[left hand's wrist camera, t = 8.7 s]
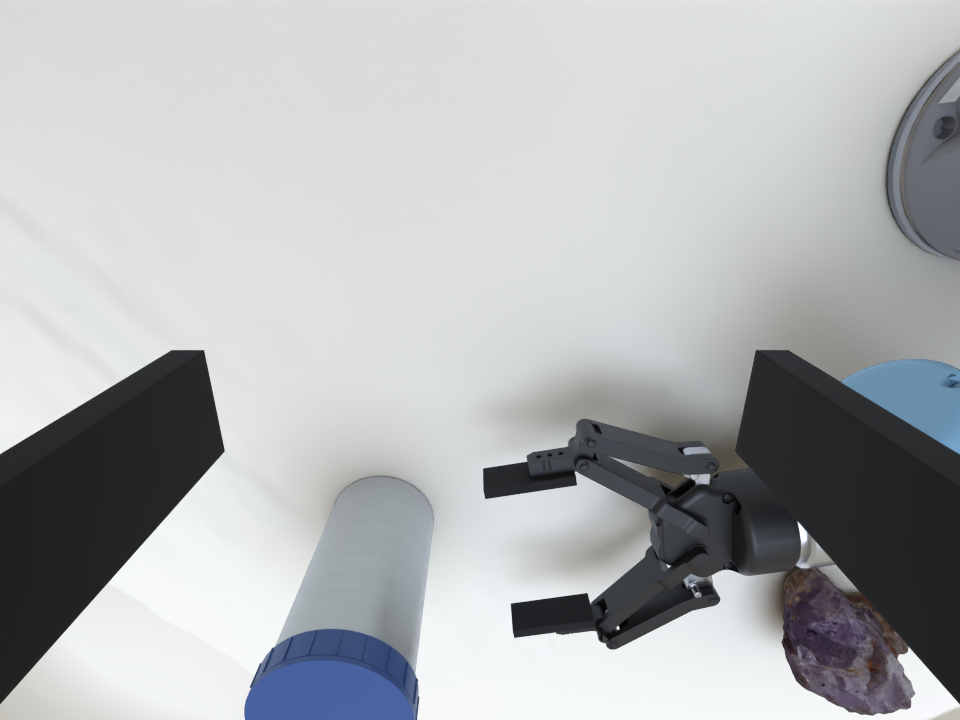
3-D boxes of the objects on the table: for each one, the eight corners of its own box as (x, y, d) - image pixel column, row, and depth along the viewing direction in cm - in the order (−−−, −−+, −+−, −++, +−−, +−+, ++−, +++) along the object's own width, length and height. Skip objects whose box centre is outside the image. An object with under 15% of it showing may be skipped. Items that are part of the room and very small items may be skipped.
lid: (366, 759, 34) (359, 795, 32) (230, 700, 32) (214, 735, 30) (450, 673, 31) (448, 707, 29) (306, 602, 29) (294, 633, 27)
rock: (811, 539, 49) (732, 603, 51) (868, 602, 41) (770, 675, 43) (898, 612, 50) (815, 672, 52) (970, 688, 42) (868, 754, 44)
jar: (399, 573, 49) (359, 781, 32) (314, 528, 47) (226, 726, 30) (453, 508, 46) (439, 700, 30) (366, 458, 44) (300, 633, 28)
